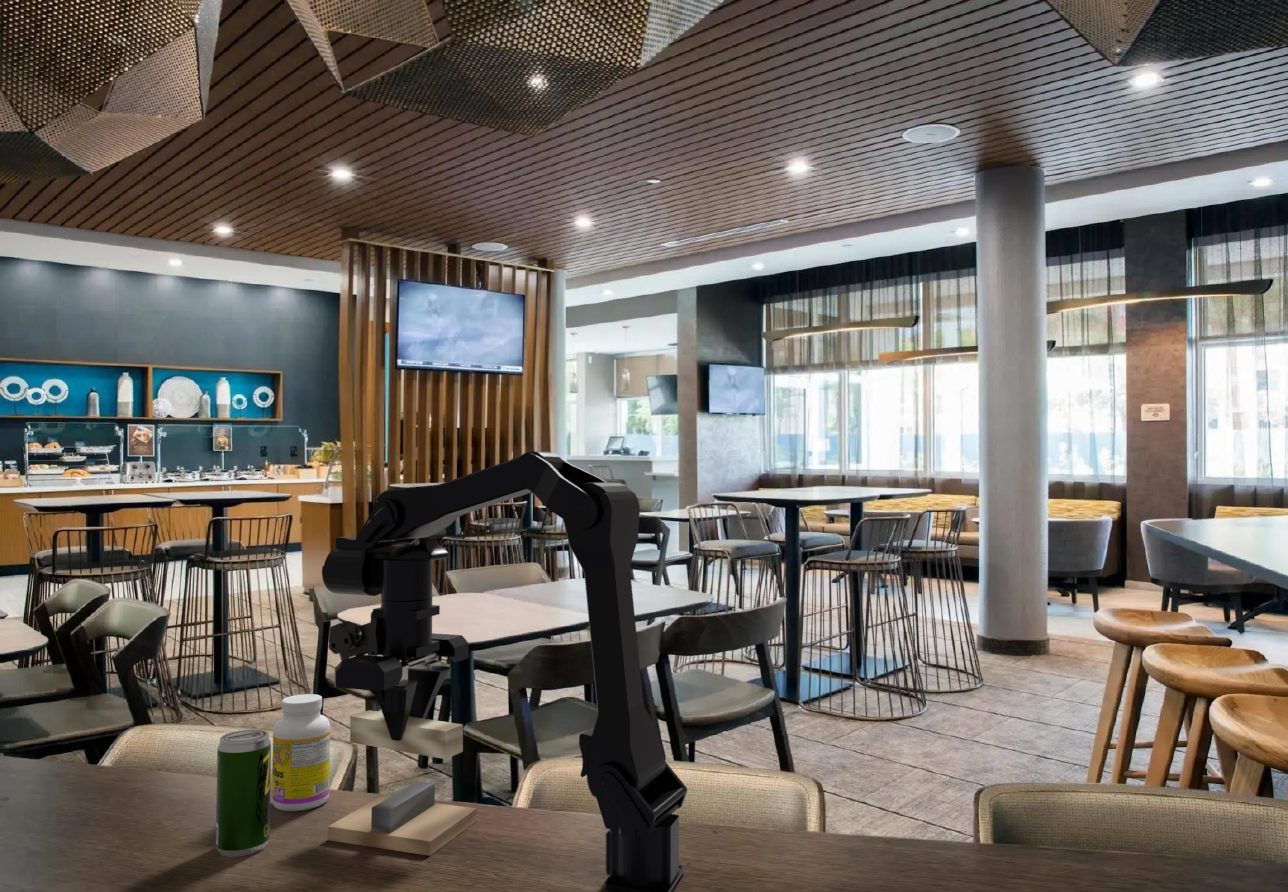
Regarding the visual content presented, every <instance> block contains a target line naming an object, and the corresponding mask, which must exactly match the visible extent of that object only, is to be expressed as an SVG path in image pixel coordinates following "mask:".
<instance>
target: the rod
mask: <svg viewBox="0 0 1288 892" xmlns="http://www.w3.org/2000/svg"><path fill="white" fill-rule="evenodd" d="M349 720H350V723H349V728H350V729H349V734H350V735H349V739H350V740H349V742H350V743H353V744H358V745H363V746H370V747H375V748H381V749H387V750H393V751H397V752H402V753H403V752H404V753H409V754H414V755H420V756H425V757H430V758H431V757H432V758H436V759H444V760H447V759H449V758H451V757H454V756H456V755H459V754H461V753H463V751H464V745H463V743H464V735H463V734H464V724H462V723H454V722H449V721H441V720H435V719H430V718H425V719H423V718H417V717H410V716H408V720H407V723H406V727H405V730H404V733H403V736H402V739H401V740H400V741H395V740H392V739H391V737H390V734H389V731H388V728H387V725H386V722H385V719H384V716H383V713H382V711H377V710H371V709H370V710H369V709H368V710H366V711H363V712H360V713H357V714H356V713H355V714H353V715H350V717H349Z"/></svg>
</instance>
